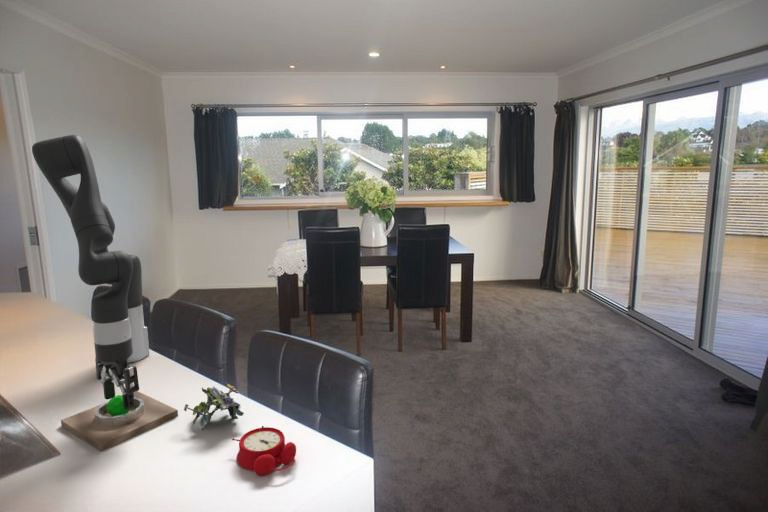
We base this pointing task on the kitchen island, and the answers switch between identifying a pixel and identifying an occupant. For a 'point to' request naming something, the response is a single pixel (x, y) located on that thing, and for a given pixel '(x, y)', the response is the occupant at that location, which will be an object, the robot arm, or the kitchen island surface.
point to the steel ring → (120, 418)
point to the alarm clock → (264, 450)
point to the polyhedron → (116, 406)
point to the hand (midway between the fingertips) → (119, 402)
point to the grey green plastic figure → (216, 404)
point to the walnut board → (113, 435)
